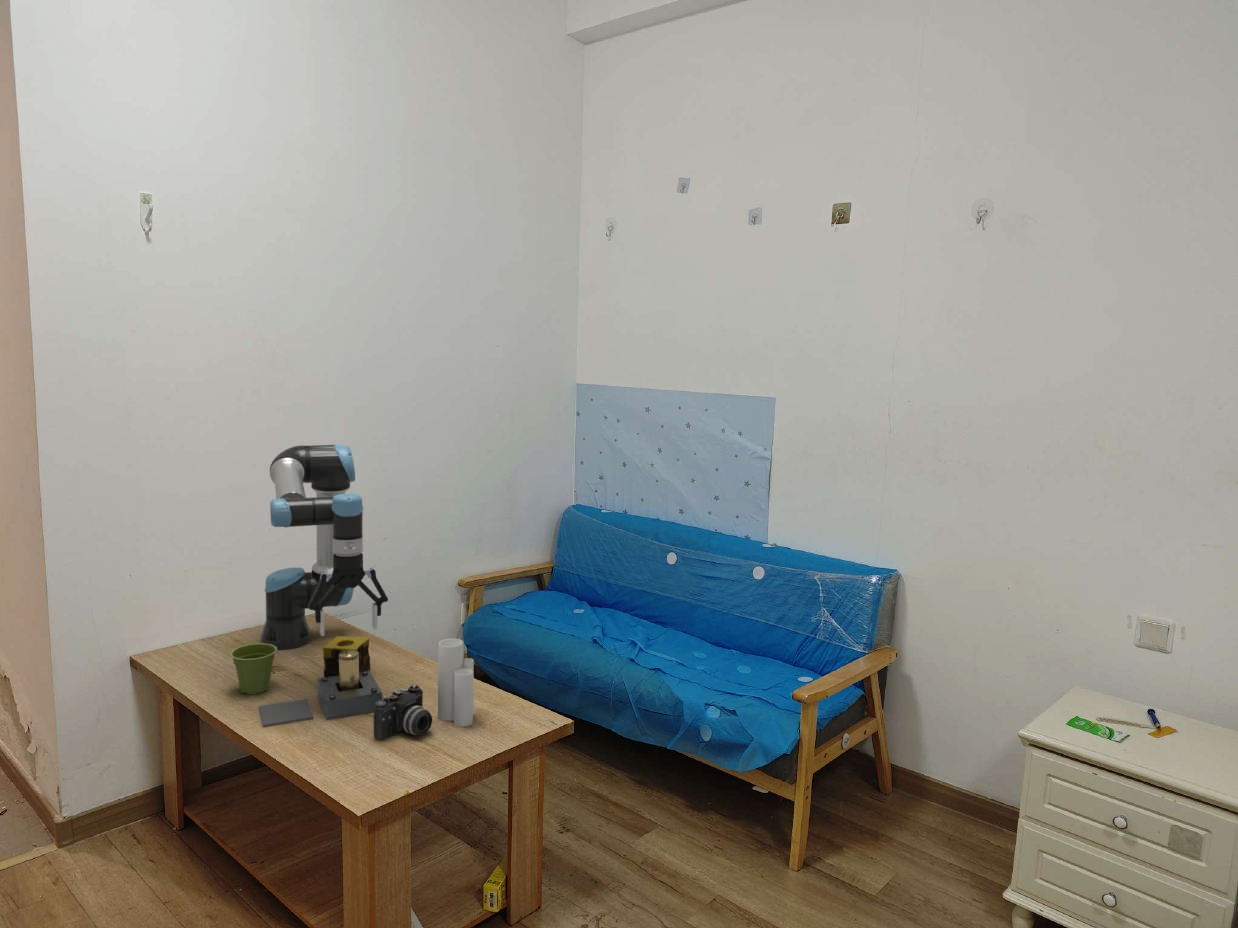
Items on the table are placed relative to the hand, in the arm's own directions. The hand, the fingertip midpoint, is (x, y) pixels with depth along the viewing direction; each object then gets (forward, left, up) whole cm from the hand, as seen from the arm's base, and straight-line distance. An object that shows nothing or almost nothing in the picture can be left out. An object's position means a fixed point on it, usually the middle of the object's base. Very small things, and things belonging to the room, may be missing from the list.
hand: (348, 630), depth 219 cm
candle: (-20, +3, -21) cm, 29 cm away
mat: (0, -16, -20) cm, 26 cm away
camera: (+23, +10, -21) cm, 32 cm away
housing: (0, 0, -20) cm, 20 cm away
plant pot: (-19, -22, -21) cm, 36 cm away
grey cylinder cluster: (+20, +24, -21) cm, 37 cm away
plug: (0, 0, -20) cm, 20 cm away
